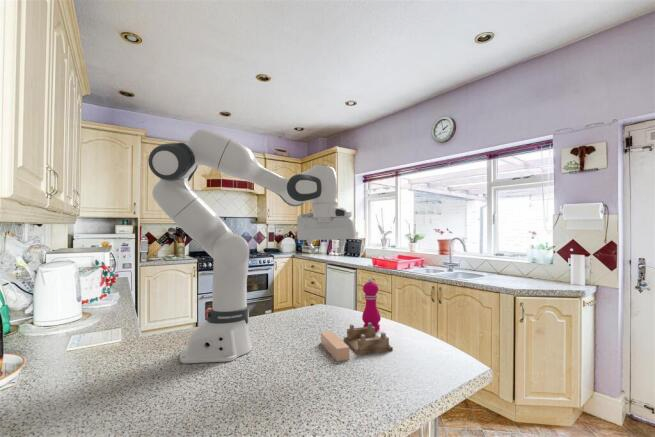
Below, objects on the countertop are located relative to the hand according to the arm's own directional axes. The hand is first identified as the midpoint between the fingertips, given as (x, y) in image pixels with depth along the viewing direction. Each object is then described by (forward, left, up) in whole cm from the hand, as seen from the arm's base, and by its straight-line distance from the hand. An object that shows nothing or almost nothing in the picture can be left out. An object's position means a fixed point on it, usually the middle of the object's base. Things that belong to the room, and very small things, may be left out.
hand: (326, 252), depth 108 cm
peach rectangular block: (+1, -4, -32) cm, 32 cm away
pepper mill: (+21, +12, -32) cm, 40 cm away
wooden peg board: (+13, -3, -32) cm, 34 cm away
